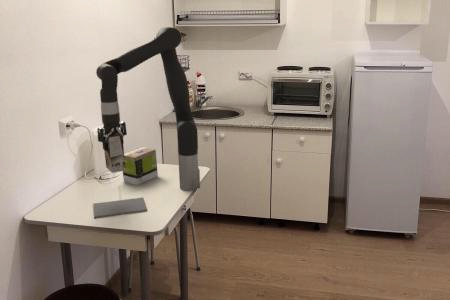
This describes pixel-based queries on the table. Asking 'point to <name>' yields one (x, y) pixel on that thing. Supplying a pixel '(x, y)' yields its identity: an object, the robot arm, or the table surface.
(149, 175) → the tea box
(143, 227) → the table surface
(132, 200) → the mat
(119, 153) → the coffee box
